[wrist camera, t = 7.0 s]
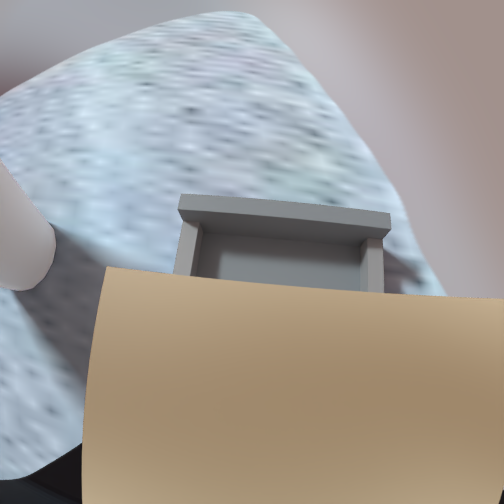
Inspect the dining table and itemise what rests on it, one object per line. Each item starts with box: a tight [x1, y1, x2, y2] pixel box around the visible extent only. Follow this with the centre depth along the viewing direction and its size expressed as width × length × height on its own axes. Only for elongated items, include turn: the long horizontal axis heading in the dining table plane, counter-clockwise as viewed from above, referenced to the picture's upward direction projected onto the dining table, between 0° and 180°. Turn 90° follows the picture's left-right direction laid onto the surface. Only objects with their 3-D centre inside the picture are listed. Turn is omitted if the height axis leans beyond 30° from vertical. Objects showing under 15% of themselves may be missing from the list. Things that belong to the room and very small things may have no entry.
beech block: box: [82, 266, 504, 504], centre depth 8 cm, size 5×5×12 cm
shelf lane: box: [173, 194, 391, 293], centre depth 17 cm, size 16×12×4 cm
